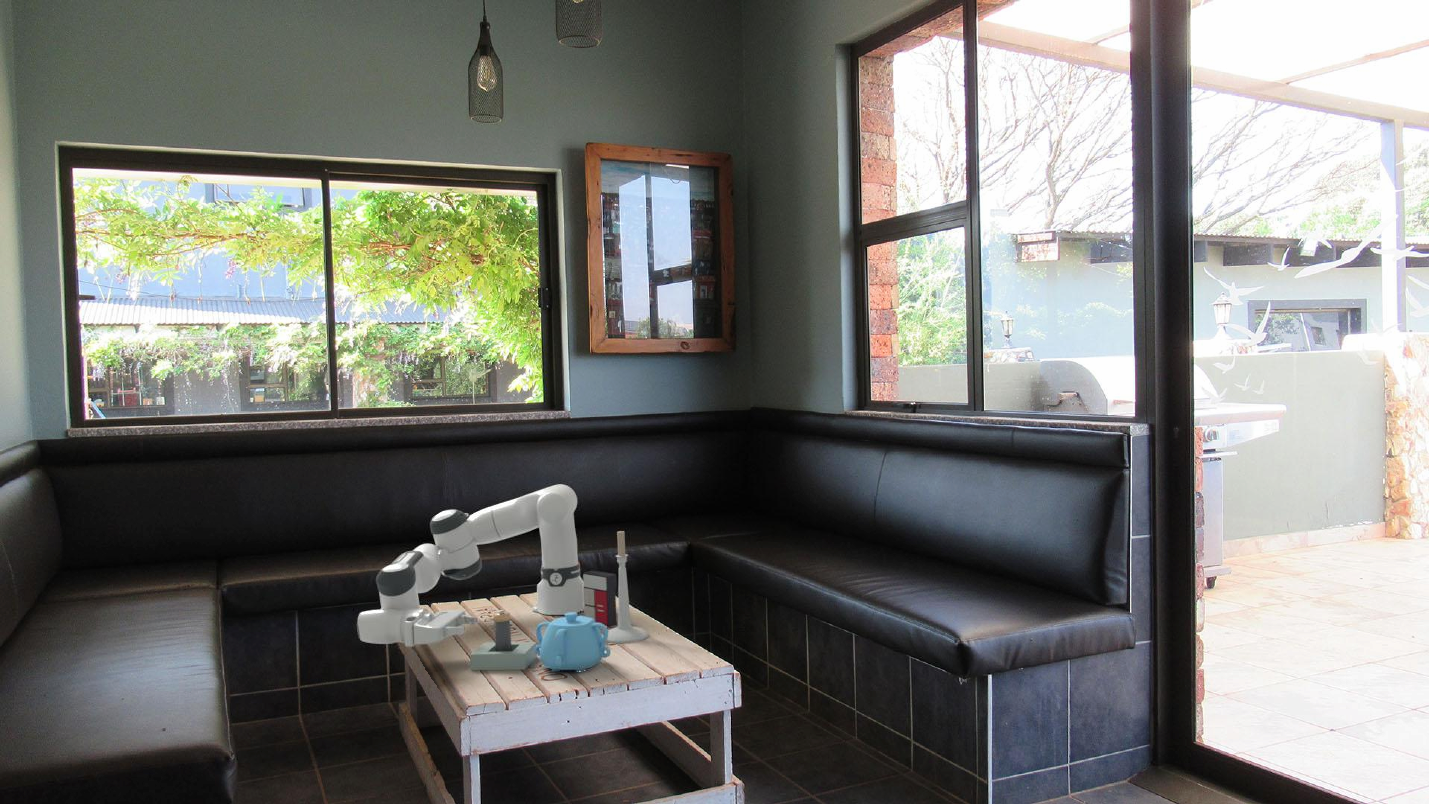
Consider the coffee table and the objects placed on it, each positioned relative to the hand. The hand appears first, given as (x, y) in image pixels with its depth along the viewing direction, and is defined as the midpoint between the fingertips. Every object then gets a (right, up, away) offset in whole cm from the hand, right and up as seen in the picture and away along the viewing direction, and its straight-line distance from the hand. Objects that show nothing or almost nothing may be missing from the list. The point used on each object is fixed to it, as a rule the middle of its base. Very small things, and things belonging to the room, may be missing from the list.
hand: (470, 625), depth 256 cm
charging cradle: (+9, -10, 0) cm, 13 cm away
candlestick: (+38, -8, +21) cm, 44 cm away
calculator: (+29, -8, +37) cm, 48 cm away
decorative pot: (+27, -10, -5) cm, 29 cm away
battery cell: (+9, -9, 0) cm, 12 cm away
